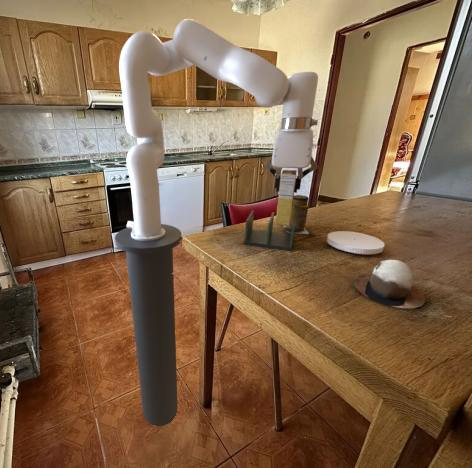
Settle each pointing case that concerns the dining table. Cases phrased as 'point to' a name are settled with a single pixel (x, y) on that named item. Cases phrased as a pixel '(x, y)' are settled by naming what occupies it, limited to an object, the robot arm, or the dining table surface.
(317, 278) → the dining table surface
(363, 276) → the bowler hat
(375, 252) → the plastic lid
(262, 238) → the rack
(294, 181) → the candy box
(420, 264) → the dining table surface
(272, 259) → the dining table surface
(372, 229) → the dining table surface
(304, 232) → the condiment
